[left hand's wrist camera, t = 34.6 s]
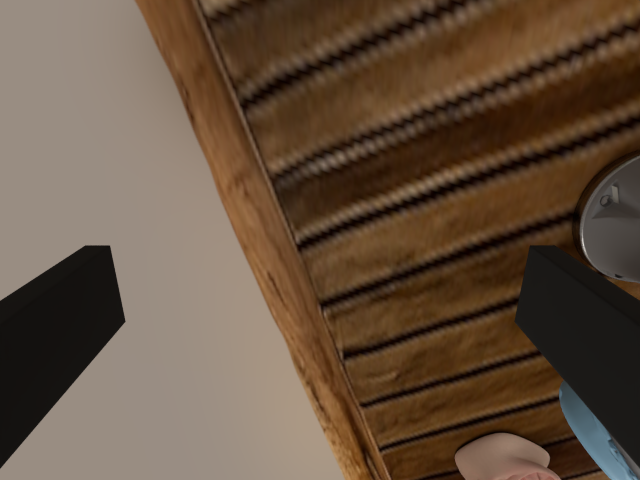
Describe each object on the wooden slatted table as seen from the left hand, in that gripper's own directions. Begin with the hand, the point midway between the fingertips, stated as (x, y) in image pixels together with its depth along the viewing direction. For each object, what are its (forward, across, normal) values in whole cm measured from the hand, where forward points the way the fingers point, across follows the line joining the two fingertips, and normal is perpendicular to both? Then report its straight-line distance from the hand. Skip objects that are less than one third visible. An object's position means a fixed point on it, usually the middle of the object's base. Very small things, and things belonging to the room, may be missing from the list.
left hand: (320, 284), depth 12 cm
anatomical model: (+32, +27, -46) cm, 62 cm away
